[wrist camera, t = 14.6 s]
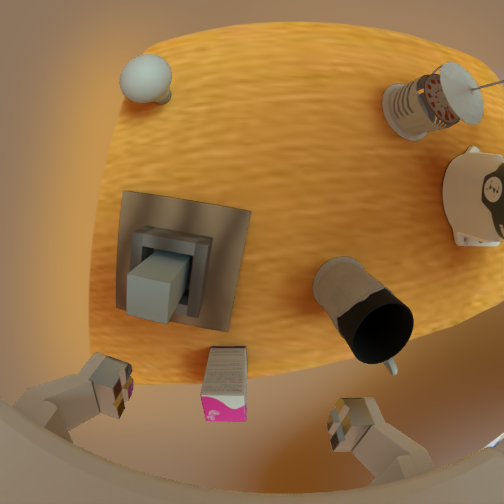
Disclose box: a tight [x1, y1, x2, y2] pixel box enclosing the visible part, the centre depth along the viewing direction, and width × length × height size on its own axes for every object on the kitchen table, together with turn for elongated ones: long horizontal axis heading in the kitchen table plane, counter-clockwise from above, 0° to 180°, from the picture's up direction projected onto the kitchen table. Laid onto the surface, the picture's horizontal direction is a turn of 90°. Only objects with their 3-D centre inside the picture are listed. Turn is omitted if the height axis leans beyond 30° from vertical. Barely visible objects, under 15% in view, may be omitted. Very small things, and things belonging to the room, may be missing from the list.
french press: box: [382, 62, 504, 141], centre depth 20 cm, size 10×12×25 cm
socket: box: [116, 191, 251, 332], centre depth 35 cm, size 18×18×6 cm
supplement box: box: [200, 346, 247, 422], centre depth 36 cm, size 6×6×12 cm
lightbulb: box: [120, 54, 172, 104], centre depth 26 cm, size 6×6×11 cm
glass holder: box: [313, 256, 414, 376], centre depth 32 cm, size 9×14×15 cm, turn 31°
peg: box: [126, 249, 193, 324], centre depth 31 cm, size 4×4×12 cm
